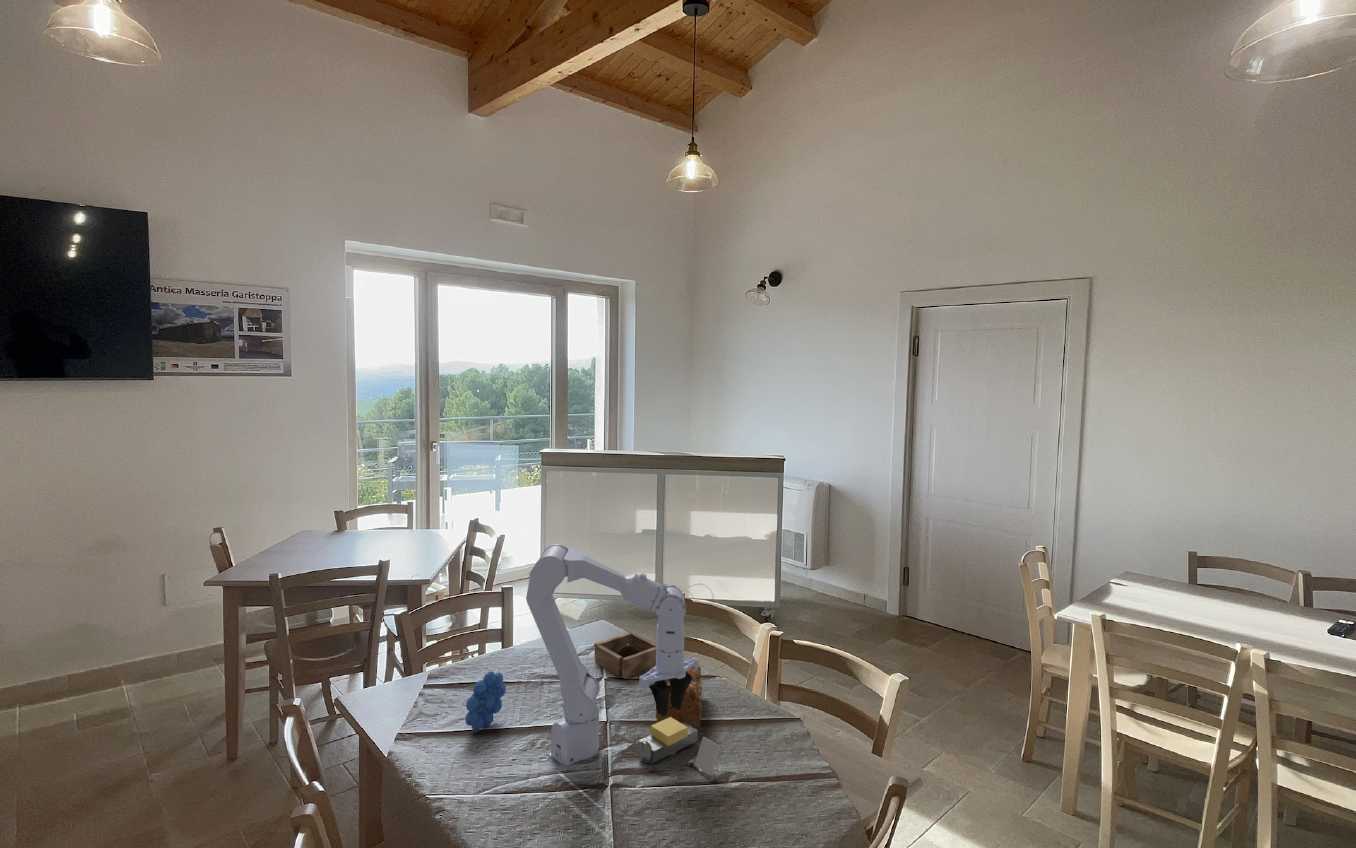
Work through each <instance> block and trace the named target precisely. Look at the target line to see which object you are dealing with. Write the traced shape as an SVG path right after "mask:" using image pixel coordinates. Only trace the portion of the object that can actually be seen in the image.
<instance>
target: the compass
mask: <svg viewBox="0 0 1356 848" xmlns="http://www.w3.org/2000/svg"><path fill="white" fill-rule="evenodd" d="M627 644H628V643H627ZM636 653H639V652H638V649H637V648H636V647H635V646H634V645H629V644H628V645H624V646H622V647H621V648H619V650H618V651H617V653H616V654H618V655H620V656H622V657H623V658H625V657H628V656H631V655H633V654H636Z"/></svg>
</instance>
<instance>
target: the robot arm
mask: <svg viewBox="0 0 1356 848" xmlns="http://www.w3.org/2000/svg"><path fill="white" fill-rule="evenodd" d="M566 577H567V579H566V580H567V581H566V583H572V582H574V581H578V580H581V579H585V580H588V581H591V582H594V583H596V584H598V585H601V586H604V587H607V588H610V589H612V590H614V591H618V592H619V593H620V594H621V597H622V599H623V600H624V601H626V602H628V603H630V604H633V605H635V606H638V607H639V608H641V609H642V608H643V609H645V610H647V611H648V612H649V611H650V612H651V613H656V616H657V618H658V619H657V624H656V635H655V636H656V638H655V639H656V641H655V643H656V666H655V667H654V668H652V669H649V670H647V672H646V673H644V674H643V675H640V676H639V680H638V681H639V682H638V685H639V687H641V688H642V689H644V690H647V689H650V692H651V694H652V696H653V699H654V703H655V708H656V707H657V712H658V713H659V714H661V715H662V716H666V714H667V708H668V698H669V694H670V691H671V706H672V707H674V708H675V709H677V710H679V709H680V708H681V704H682V701H683V697H684V694H685V692H686V689H687V687H688V686H689V684H690V682H691V681H692V676H691V675H690V674H688V670H690V669H694V670H695V669H698V666H699V659H698V658H696V657H693V656H690V657H687V658H685V655H684V654H685V624H684V623H685V615H686V612H687V610H686V601H685V600H686V598H685V596H684V595H685V594H684V593H683V591H682V590H681V589H680V588H679V587H677V586H676V585H673V584H669V585H668V584H667V583H665V582H664V583H663V584H662V583H659V582H657V581H654V580H652V579H649V578H647V574H646V573H644V572H641V573H635V572H634V573H630V574H627V575H625V574H624V573H621V572H619V571H618V570H615V569H613V568H611V567H609V566H607V565H605V564H604V563H602V562H599V561H597V560H595V559H594V558H591V557H589V556H587V555H585V554H583V553H581V552H580V551H579V550H576V549H574V548H568V547H566V546H565V545H563V544H560V543H555V544H551V545H548V546H546V548H545V549H544V551H543V552H542V554H541V556H540V557H539V558H538V560H537V561H536V563H535V564H534V565H533V568H532V569H531V570H530V572H529V580H528V581H529V582H528V586H527V592H526V597H525V598H526V599H525V600H526V603H527V606H528V608H529V610H530V613H531V615H532V617H533V619H534V622H535V624H536V627H537V629H538V631H539V634H540V636H541V639H542V641H543V643H544V646H545V648H546V650H547V652H548V654H549V656H550V659H551V662H552V664H553V666H554V668H555V672H556V673H557V676H558V677H559V678H558V679H559V687H560V688H559V689H560V695H561V697H562V699H563V700H562V701H563V704H562V705H563V706H562V711H563V715H562V716H561V717H560V718H559V719H558V720H557V721H555V722H554V723H553V724H552V725H551V727H550V728H551V729H550V730H551V731H550V752H549V753H548V757H549V758H551V759H554V760H555V761H557V762H558V763H559V764H561V765H564V766H566V767H567V766H570V765H572V764H574V763H577V762H580V761H582V760H587V759H590V758H593V757H594V756H596V754H597V753H598V752H599V748H600V745H599V744H600V736H599V735H600V728H599V727H600V709H599V707H598V706H597V704H596V701H597V697H598V695H599V691H600V684H599V681H598V679H596V677H595V676H594V675H592V674H591V673H590V671H589V669H588V667H587V666H586V665H585V664H584V663H582V662H581V659H580V656H579V654H578V652H577V649H576V648H575V647H576V646H575V645H574V643H573V640H572V638H571V636H570V633H569V631H568V629H567V627H566V626H567V625H566V624H565V620H564V619H563V616H562V614H561V612H560V610H559V608H558V605H557V603H556V601H555V598H554V593H555V591H556V589H557V587H559V585H561V584H562V582H563V581H564V580H565V578H566ZM666 679H669V682H670V686H669V685H667V684H666V682H665V680H666Z"/></svg>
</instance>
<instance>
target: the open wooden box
mask: <svg viewBox="0 0 1356 848" xmlns="http://www.w3.org/2000/svg"><path fill="white" fill-rule="evenodd" d="M627 643H628V644H629V645H634V646H635V647H636V648H637V649H638V652H639V653H636V654H633V655H631V656H628V657H625V658H623V657H622V656H620V655H618V654H616V653H617V651H618V650H619V648H621V647H622V646H624V645H628V644H627ZM594 662H595V663H596V665H598V666H599V667H601V668H603V669H605V670H606V671H608V672H610V673H611V674H613V675H615V676H616V677H618V678H619V677H621V678H623V679H628V678H631V677H633V676H636V675H639V674H641V673H643V672H646V671H647V672H648V671H650V670H651V669H652V668H654V667H655V666H656V642H654V641H652V640H650V639H648V638H646V637H643V636H642V635H640V634H638V633H633V632H627V633H623V634H620V635H616V636H614V637H611V638H610V637H609V638H607V639H603V640H602V641H598V642H594Z"/></svg>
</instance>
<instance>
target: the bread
mask: <svg viewBox="0 0 1356 848" xmlns="http://www.w3.org/2000/svg"><path fill="white" fill-rule="evenodd" d="M688 674H690V675H691V676H692V681H691V682H690V684H689V686H688V687H687V689H686V692H685V694H684V697H683V701H682V704H681V708H680V709H679V710H677V709H675V708H674V707H672V706H671V691H670V694H669V698H668V708H667V714H666V716H662V715H661V714H659V713H658V712H657V707H656V706H655V718H656V723H658V722H660V721H662V720H665V719H667V718H669V717H671V718H673V719H675V720H677V721H678V722H680V721H683V722H685V723H687V724H688V725H690V726H692V727H693V728H695V729H697V730H698V729H700V724H701V719H702V700H703V696H702V693H703V692H702V689H703V687H702V686H703V682H702V680H703V679H702V669H701V666H700V665H698V669H695V670H694V669H690V670H688ZM665 682H666V684H667V685H669V686H670V682H669V679H666V680H665Z"/></svg>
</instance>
